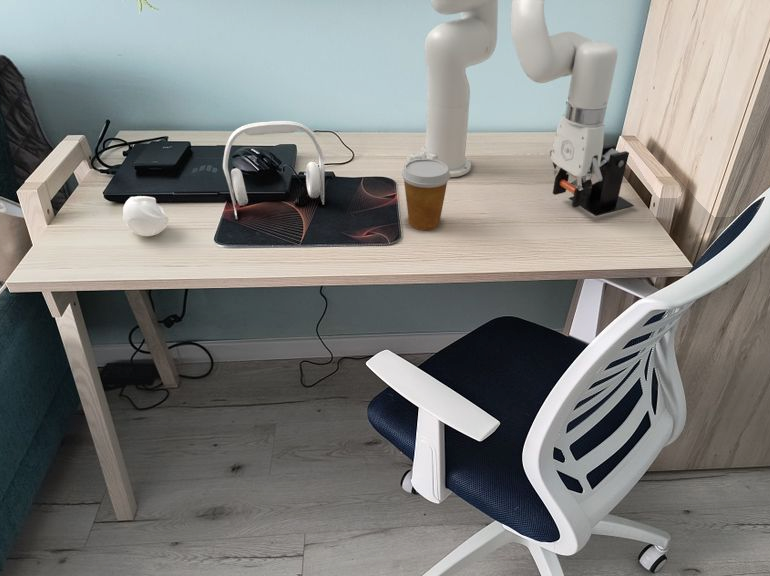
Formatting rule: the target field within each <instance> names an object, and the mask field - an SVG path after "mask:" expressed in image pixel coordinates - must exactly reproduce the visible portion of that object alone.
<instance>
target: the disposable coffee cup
mask: <svg viewBox="0 0 770 576" xmlns="http://www.w3.org/2000/svg"><path fill="white" fill-rule="evenodd" d="M401 177H402V179H403V182H404V183H403V184H404V191H405V201H406V210H407V215H408V216H407V217H408V218H407V219H408V224H409V226H410V227H411V228H413V229H415V230H420V231H430V230H434V229H436V228H438V227H439V226H440V221H441V217H442V212H443V206H444V202H445V195H446V192H447V187H448V182H449V180H450V178H451V177H450V172H449V170H448V166H447V165H446V164H445V163H443V162H441V161H438V160H434V159H415V160H411V161H409V162H407V161H406V163H405V164H404V166H403V169H402V171H401Z"/></svg>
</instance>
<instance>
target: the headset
mask: <svg viewBox="0 0 770 576" xmlns="http://www.w3.org/2000/svg"><path fill="white" fill-rule="evenodd" d="M298 129H299V130H301V131H302V132H304V133H306V134H307V135H308V136H309V138H310V139H311V140H312V142H313V144H314V146H315V149H316V151H317V154H318V164H317V163H316V162H315V161H310V162H308V163H307V165H306V169H305V182H306V183H305V184H306V190H307V193H308V196H309V198H311V199H317V198H319V197H320V200H321V203H322V205H325V157H324V154H323V151H322V147H321V145H320V143H319V141H318V139H317V137H316V135H315V134H314V133H313V131H312V130H311V128H309V127H307V126H306V125H304V123H303V124H302V123H300V122H296V121H291V120H289V121H288V120H274V121H260V122H253V123H248V124H245V125H242V126H240V127H238V128H236V129H235V130H234V131H233V132H232V133H231V134H230V136H229V138H228V140H227V142H226V144H225V147H224V152H223V153H224V154H223V159H222V169H223V173H224V176H225V178H226V183H227V186H228V190H229V193H230V197H231V201H232V205H233V210H234V216H235V219H236V220H238V213H237V212H238V211H237V207H236V206H237V204H238V205H239V206H243V207H244V206H247V204H248V203H249V199H248V195H247V194H248V193H247V189H246V185H245V181H244V177H243V172H242V170H241V169H239V168H232V169H231V171H230V172H229V168H228V167H229V159H230V158H229V157H230V153H231V150H232V149H231V148H232V146H233V144H234V142H235V141H236V139H237V138H238V137H239V136H240V135H242V134H243V133H244V134H246V135H248V136H262V135H263V136H264V135H274V134H293V133H295V132H297V130H298ZM236 201H237V203H236Z"/></svg>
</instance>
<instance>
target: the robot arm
mask: <svg viewBox="0 0 770 576" xmlns="http://www.w3.org/2000/svg"><path fill="white" fill-rule="evenodd" d="M429 1H430V5H431V6H432V9H433V10H434V11H435V12H437V13H438V14H441V15H446V16H447V15H449V16H450V15H457V14H460V19H454V20H449V21H446V22H445V21H444V22H443V23H440V24H438V25H435V27H433V28H432V29H431V30H430V31H429V32H428V34H427V35H426V38H425V41H424V47H423V50H424V53H423V54H424V59H425V67H426V76H427V77H426V78H427V80H426V81H427V83H426V85H427V88H426V90H427V91H426V92H427V93H426V122H425V123H426V124H425V146H423V147H422V146H421V148H420V151H419V152H418V153H416V154H409V155H407V156H406V158H405V159H406V163H407V162H409V161H411V160H415V159H434V160H438V161H441V162H443V163H445V164H446V165H447V166H448V170H449V172H450V178H457V177H461V176H464V175H466V174H468V173H469V172H470V171H471V169H472V162H471V160H470V159H469V158H468V157H466V150H467V139H468V138H467V137H468V128H469V127H468V126H469V115H470V113H469V112H470V111H469V110H470V99H471V88H470V87H471V86H470V83H469V82H470V81H469V78H468V76H467V72H466V71H467V70H466V69H467V68H470V67H472V66H475V65H479V64H482V63H485V62H486V61H488V60H489V59H490V58H491V57H492V56H493V54H494V52H495V50H496V47H497V42H498V16H499V15H498V13H499V12H498V9H499V8H498V5H499V3H498V2H499V0H429ZM510 32H511V39H512V42H513V45H514V48H515V51H516V55H517V58H518V60H519V61H518V62H519V63H520V66H521V68H522V70H523V73H525V75H526V76H527V77H528V78H529V80H531V81H532V82H535V83H538V84H545V83H549V82H552V81H555V80H558V79H560V78H565V77H568V76H571V77H570V84H569V89H568V94H567V99H566V101H565V113H563V114H561V115H562V116H561V118H560V120H559V123H558V125H557V129H556V132H555V135H554V139H553V145H552V149H551V150H550V151H549V156H550V159H551V161H552V166H553V169H554V171H553V175H554V183H553V189H552V195H554V196H556V195H561V194H564V193H567V190H566V189H565V188H563V187H562V186H560V184H559V183H560V181H561V180H562V179H564V180H566V181H567V182H569V177H570V175H572V176H574V177H575V178H576V179H577V184H578V187H577V189H575V191H574V194H573V196H572V197H573V201H572V200H571V201H572V202H571V206H572V207H573V208H578V207H581V206H582V205H585V203H586V198H587V194H588V189H589V188H591V187H592V186H594V185H595V184H596V183H599V182H600V181H602V175H601V172H600V169H599V165H600V161H601V156H602V150H603V146H604V140H605V124H604V122H605V117H606V113H607V108H608V103H609V98H610V94H611V89H612V84H613V80H614V76H615V75H614V74H615V70H616V66H617V60H618V50H617V48H616V46H615V45H613V44H611V43H608V42H606V41H600V40H598V41H597V40H592V39H589V38H587V37H585V36H583V35H582V34H579V33H577V32H573V31H563V32H559V33H555V34H552V35H550V33H549V30H548V26H547V21H546V17H545V0H511V7H510ZM583 177H586V181H585V182H583Z"/></svg>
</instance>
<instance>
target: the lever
mask: <svg viewBox="0 0 770 576" xmlns="http://www.w3.org/2000/svg"><path fill="white" fill-rule="evenodd" d="M615 153H620V151H618V150H617V149H616V148H615V149H613V148H612V149H611V150H609V151H608V152H606V153H605V154H604V155H602V159H603V160H602V161H601V162H600V165H599V169H600V170H602V169H603V168H604V167H606V166H607V167H608V162H609V158H610V155H611V154H615ZM585 181H586V177H583V183H584V182H585ZM559 184H560V186H562V187H563V188H565V189H566V191H567V192H569V193H571V194H573V195H574V191H575V189H577V188H578V184H577V178H576V179H574V180H573V181H572V182H569V181H568V182H567V181H566V180H564V179H562V180H561V181H560V183H559Z"/></svg>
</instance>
